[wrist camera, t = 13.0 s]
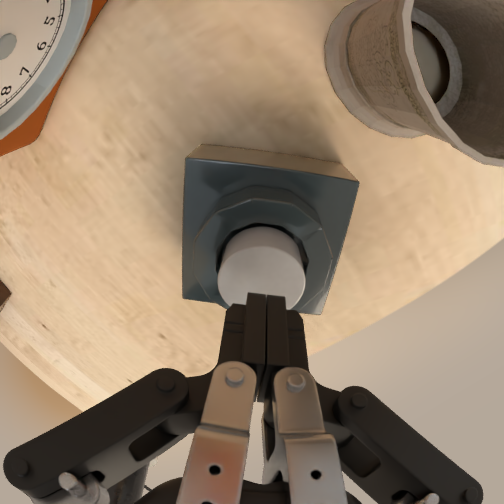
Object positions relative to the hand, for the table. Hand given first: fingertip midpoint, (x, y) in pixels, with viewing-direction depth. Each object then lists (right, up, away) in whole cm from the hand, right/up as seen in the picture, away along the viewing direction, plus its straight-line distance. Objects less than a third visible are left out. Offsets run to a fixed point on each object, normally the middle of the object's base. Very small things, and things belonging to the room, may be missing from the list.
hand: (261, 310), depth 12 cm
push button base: (0, +5, +8) cm, 9 cm away
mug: (+8, +16, +2) cm, 18 cm away
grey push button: (0, +2, +3) cm, 4 cm away
